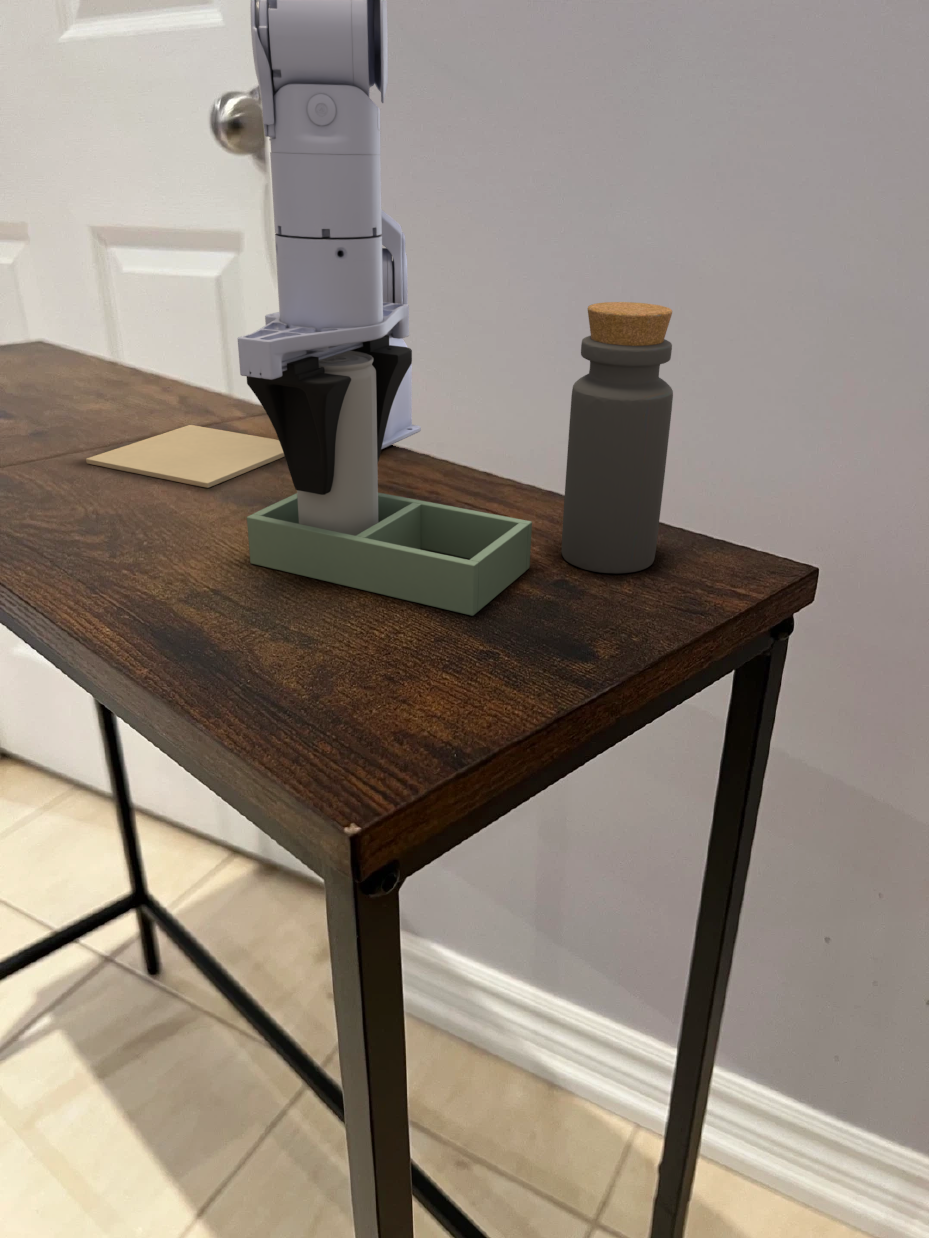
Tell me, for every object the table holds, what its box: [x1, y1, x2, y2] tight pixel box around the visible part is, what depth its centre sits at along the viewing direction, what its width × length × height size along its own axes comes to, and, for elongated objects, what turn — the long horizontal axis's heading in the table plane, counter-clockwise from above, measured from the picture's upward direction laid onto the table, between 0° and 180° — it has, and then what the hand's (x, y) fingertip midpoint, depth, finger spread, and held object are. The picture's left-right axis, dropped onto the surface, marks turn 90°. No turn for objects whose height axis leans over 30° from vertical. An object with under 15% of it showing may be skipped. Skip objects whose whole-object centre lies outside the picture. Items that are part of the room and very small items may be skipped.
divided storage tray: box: [246, 492, 533, 617], centre depth 59 cm, size 8×15×3 cm, turn 63°
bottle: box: [561, 301, 674, 575], centre depth 58 cm, size 6×6×15 cm
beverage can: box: [296, 351, 379, 536], centre depth 58 cm, size 5×5×12 cm
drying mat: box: [85, 424, 285, 489], centre depth 79 cm, size 12×12×1 cm
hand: (337, 478), depth 59 cm, fingers closed on beverage can, 5 cm apart
